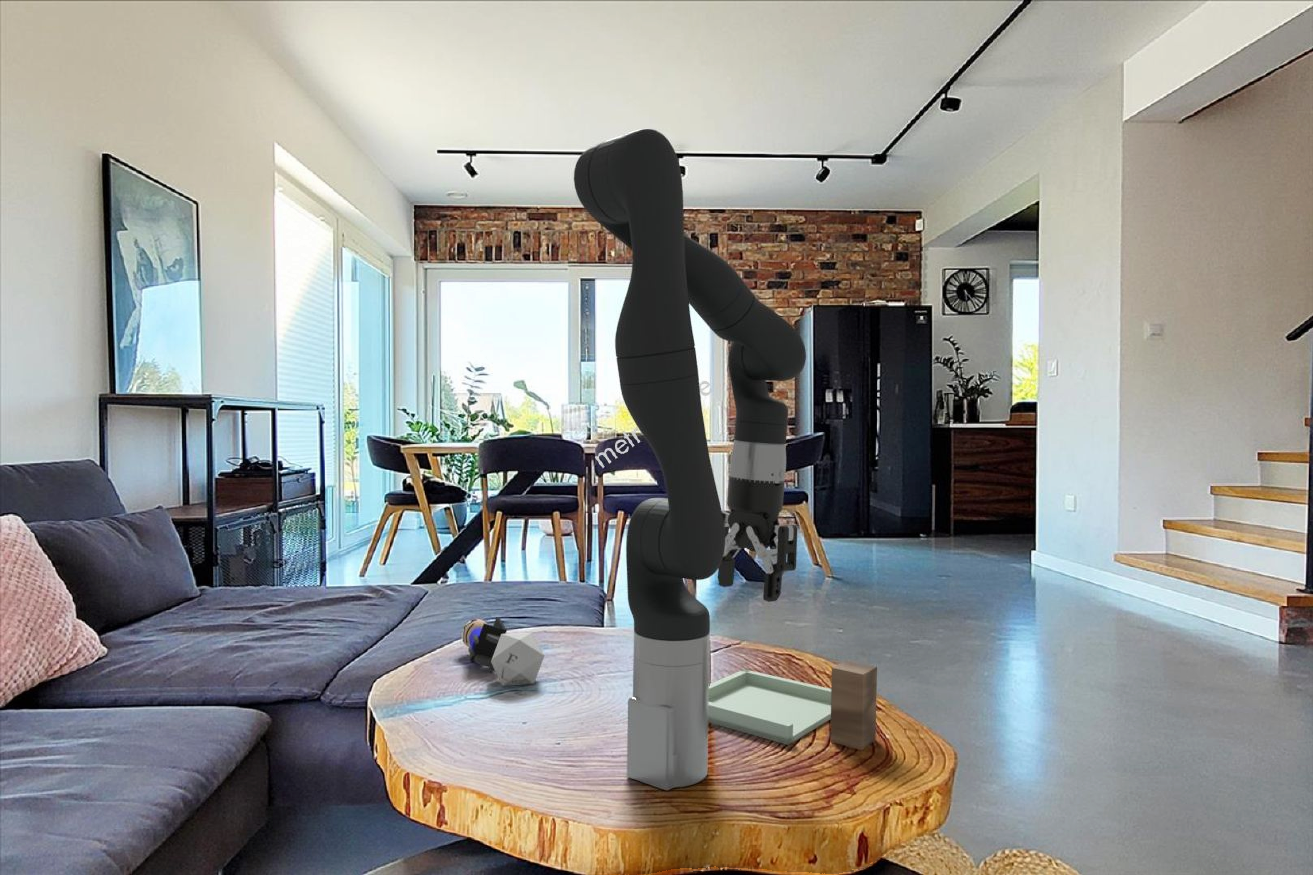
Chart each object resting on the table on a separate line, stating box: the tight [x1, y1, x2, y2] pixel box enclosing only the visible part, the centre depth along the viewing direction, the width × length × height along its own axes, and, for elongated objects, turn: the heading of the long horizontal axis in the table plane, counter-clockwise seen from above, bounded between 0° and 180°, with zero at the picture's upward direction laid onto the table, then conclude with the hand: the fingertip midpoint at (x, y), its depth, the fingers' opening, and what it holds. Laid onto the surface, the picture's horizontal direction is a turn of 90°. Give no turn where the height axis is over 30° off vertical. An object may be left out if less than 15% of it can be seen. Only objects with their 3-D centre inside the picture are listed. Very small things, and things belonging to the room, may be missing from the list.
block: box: [829, 660, 878, 751], centre depth 111 cm, size 4×4×10 cm
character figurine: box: [461, 616, 508, 669], centre depth 146 cm, size 8×7×15 cm
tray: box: [708, 668, 831, 746], centre depth 122 cm, size 18×18×2 cm
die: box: [491, 631, 545, 687], centre depth 134 cm, size 8×9×10 cm
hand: (747, 593), depth 113 cm, fingers open, 8 cm apart
